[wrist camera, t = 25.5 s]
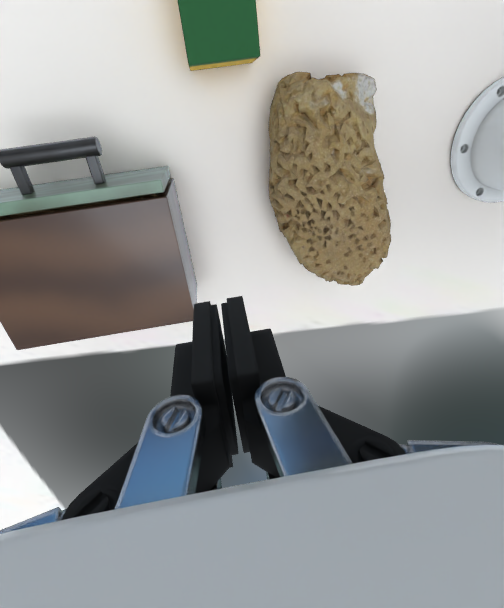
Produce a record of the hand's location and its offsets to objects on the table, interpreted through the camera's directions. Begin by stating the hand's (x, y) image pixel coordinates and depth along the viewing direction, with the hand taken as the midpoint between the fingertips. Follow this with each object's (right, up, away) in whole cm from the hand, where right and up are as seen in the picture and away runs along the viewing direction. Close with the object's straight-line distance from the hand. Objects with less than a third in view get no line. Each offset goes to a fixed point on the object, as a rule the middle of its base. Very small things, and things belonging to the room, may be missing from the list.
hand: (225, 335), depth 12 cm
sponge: (+9, +14, +25) cm, 30 cm away
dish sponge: (-2, +25, +17) cm, 30 cm away
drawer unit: (-15, +7, +25) cm, 30 cm away
